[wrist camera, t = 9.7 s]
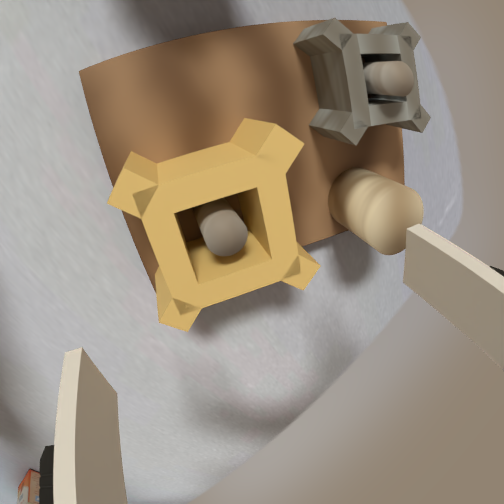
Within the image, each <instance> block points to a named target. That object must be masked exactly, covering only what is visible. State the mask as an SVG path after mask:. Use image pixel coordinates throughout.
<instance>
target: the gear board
mask: <svg viewBox="0 0 504 504" xmlns="http://www.w3.org/2000/svg"><path fill="white" fill-rule="evenodd" d="M420 38H421V37H420V36H419V35H418V33H417V32H416V31H415V30H414V29H413V28H412V26H411V25H410V24H409V23H408V22H406V23H399V24H393V25H387V23H386V22H377V21H357V20H337V19H336V18H333V19H330V20H312V21H292V22H279V23H268V24H259V25H251V26H243V27H236V28H230V29H224V30H218V31H213V32H207V33H202V34H197V35H193V36H188V37H184V38H180V39H175V40H171V41H168V42H164V43H160V44H156V45H153V46H149V47H146V48H142V49H139V50H136V51H133V52H130V53H126V54H123V55H120V56H117V57H115V58H112V59H109V60H106V61H103V62H101V63H98V64H95V65H93V66H90V67H88V68H85V69H83V70H80V71H79V74H80V78H81V82H82V86H83V90H84V94H85V98H86V101H87V105H88V109H89V112H90V116H91V119H92V123H93V126H94V130H95V133H96V136H97V139H98V143H99V146H100V149H101V152H102V155H103V158H104V161H105V164H106V167H107V170H108V173H109V176H110V179H111V182H112V185H113V188H114V185H115V183H116V181H117V179H118V176H119V174H120V172H121V170H122V168H123V166H124V164H125V162H126V160H127V158H128V156H129V154H130V152H131V151H132V152H134V153H136V154H138V155H140V156H142V157H144V158H146V159H148V160H150V161H152V162H154V163H156V164H158V163H161V162H164V161H167V160H170V159H173V158H176V157H179V156H183V155H186V154H189V153H192V152H196V151H199V150H203V149H206V148H210V147H213V146H217V145H220V144H224V143H228V142H230V140H231V139H232V137H233V135H234V134H235V132H236V131H237V129H238V127H239V126H240V124H241V123H242V121H243V120H244V118H247V119H253V120H258V121H264V122H269V123H274V124H277V125H278V126H280V127H281V128H283V129H284V130H286V131H287V132H289V133H290V134H292V135H293V136H294V137H296V138H297V139H299V140H300V141H301V142H303V143H304V146H303V147H302V149H301V150H300V152H299V154H298V155H297V157H296V158H295V160H294V161H293V163H292V165H291V166H290V168H289V169H288V171H287V172H286V174H285V175H286V180H287V186H288V192H289V198H290V204H291V210H292V216H293V222H294V229H295V235H296V242H297V243H298V244H299V245H300V246H301V247H302V246H305V245H308V244H311V243H314V242H317V241H319V240H322V239H325V238H328V237H331V236H334V235H336V234H339V233H342V232H345V231H348V230H350V231H351V232H353V233H354V234H355V235H357V236H358V237H359V238H361V239H362V240H364V241H365V242H366V243H368V244H369V245H370V246H372V247H373V248H374V249H376V250H377V251H378V252H380V253H382V254H384V255H394V254H397V253H399V252H401V251H403V250H404V249H405V248H406V231H407V228H410V227H412V226H414V225H417V224H422V220H423V203H422V200H421V198H420V196H419V194H418V193H417V192H416V191H415V190H413V189H411V188H409V187H407V186H405V185H404V156H403V139H402V128H404V129H408V130H412V131H417V132H421V133H422V132H423V131H424V129H425V127H426V125H427V123H428V121H429V120H430V118H431V117H430V116H429V114H428V113H427V112H426V111H425V109H424V108H423V107H422V106H421V104H420V98H419V89H418V80H417V72H416V65H415V59H414V52H413V50H414V48H415V47H416V45H417V43H418V41H419V40H420ZM122 212H123V215H124V218H125V220H126V223H127V225H128V228H129V231H130V233H131V236H132V238H133V241H134V243H135V246H136V248H137V250H138V253H139V255H140V258H141V260H142V262H143V265H144V267H145V269H146V272H147V274H148V276H149V279H150V281H151V283H152V285H153V288H154V290H155V292H156V283H155V273H156V271H157V269H158V267H159V264H158V261H157V259H156V256H155V254H154V251H153V249H152V246H151V243H150V241H149V238H148V236H147V233H146V230H145V228H144V225H143V222H142V219H140V218H138V217H136V216H134V215H132V214H129V213H127V212H125V211H123V210H122ZM176 213H177V216H178V219H179V222H180V225H181V228H182V231H183V234H184V237H185V240H186V242H189V241H192V240H195V239H198V238H201V237H203V238H204V240H205V242H206V245H207V247H208V249H209V250H210V251H211V252H212V253H214V254H216V255H218V256H230V255H233V254H235V253H237V252H239V251H240V250H241V249H242V248H243V247H244V245H245V243H246V241H247V237H248V231H247V228H246V225H245V224H244V220H243V215H242V211H241V207H240V203H239V198H238V194H237V193H236V194H233V195H230V196H226V197H223V198H220V199H217V200H214V201H210V202H207V203H204V204H201V205H198V206H195V207H192V208H189V209H185V210H182V211H179V212H176Z"/></svg>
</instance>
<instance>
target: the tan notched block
mask: <svg viewBox="0 0 504 504" xmlns="http://www.w3.org/2000/svg"><path fill="white" fill-rule="evenodd" d="M303 146H304V143H303V142H301V141H300V140H299V139H297V138H296V137H294V136H293V135H292V134H290V133H289V132H287V131H286V130H284V129H283V128H281V127H280V126H278V125H277V124H274V123H269V122H264V121H258V120H253V119H247V118H244V120H243V121H242V123H241V124H240V126H239V127H238V129H237V131H236V132H235V134H234V135H233V137H232V139H231V140H230V142H228V143H224V144H220V145H217V146H213V147H210V148H206V149H203V150H199V151H196V152H192V153H189V154H186V155H183V156H179V157H176V158H173V159H170V160H167V161H164V162H161V163H158V164H156V163H154V162H152V161H150V160H148V159H146V158H144V157H142V156H140V155H138V154H136V153H134V152H132V151H131V152H130V154H129V156H128V158H127V160H126V162H125V164H124V166H123V168H122V170H121V172H120V174H119V176H118V179H117V181H116V183H115V185H114V188H113V190H112V192H111V195H110V197H109V200H108V202H107V204H110V205H112V206H114V207H116V208H118V209H121V210H123V211H125V212H127V213H129V214H132V215H134V216H136V217H138V218H140V219H142V222H143V225H144V228H145V230H146V233H147V236H148V238H149V241H150V243H151V246H152V249H153V251H154V254H155V256H156V259H157V261H158V264H159V267H158V269H157V271H156V273H155V283H156V295H157V306H158V317H159V323H162V324H165V325H168V326H171V327H174V328H177V329H180V330H183V331H187V332H188V330H189V329H190V327H191V326H192V324H193V322H194V321H195V319H196V317H197V316H198V314H199V312H200V311H201V309H202V308H204V307H207V306H210V305H213V304H216V303H219V302H222V301H225V300H228V299H231V298H233V297H236V296H239V295H242V294H245V293H248V292H250V291H253V290H256V289H259V288H262V287H265V286H267V285H270V284H273V283H276V282H278V281H283V282H285V283H287V284H290V285H292V286H294V287H297V288H299V289H301V290H304V289H305V288H306V286H307V285H308V283H309V282H310V281H311V279H312V278H313V276H314V275H315V273H316V272H317V270H318V269H319V268H320V265H319V264H318V263H317V262H316V261H315V260H314V259H313V258H312V257H311V256H310V255H309V254H308V253H307V252H306V251H305V250H304V249H303V248H302V247H301V246H300V245H299V244H298V243H297V242H296V235H295V229H294V222H293V216H292V210H291V204H290V198H289V192H288V186H287V180H286V175H285V174H286V172H287V171H288V169H289V168H290V166H291V165H292V163H293V161H294V160H295V158H296V157H297V155H298V154H299V152H300V150H301V149H302V147H303ZM236 193H237V194H238V198H239V203H240V207H241V211H242V215H243V220H244V224H245V225H246V228H247V231H248V237H247V241H246V243H245V245H244V247H243V248H242V249H241V250H240V251H239V252H237V253H235V254H233V255H230V256H218V255H216V254H214V253H212V252H211V251H210V250H209V249H208V247H207V245H206V242H205V240H204V238H203V237H201V238H198V239H195V240H192V241H189V242H186V240H185V237H184V234H183V231H182V228H181V225H180V222H179V219H178V216H177V213H176V212H179V211H182V210H185V209H189V208H192V207H195V206H198V205H201V204H204V203H207V202H210V201H214V200H217V199H220V198H223V197H226V196H230V195H233V194H236Z"/></svg>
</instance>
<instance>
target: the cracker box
mask: <svg viewBox="0 0 504 504" xmlns="http://www.w3.org/2000/svg"><path fill="white" fill-rule="evenodd" d="M39 477H41V476H40V473H38V472H36V471H33V470H30V469H29V471H28V472H27V474H26V476H25V477H24V479H23V481H22V482H21V484H20V485H19V487H18V501H17V504H39V489H40V486H39Z"/></svg>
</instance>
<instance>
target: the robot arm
mask: <svg viewBox="0 0 504 504" xmlns="http://www.w3.org/2000/svg"><path fill="white" fill-rule="evenodd" d="M403 283H404V284H406V285H407V286H408V287H409V288H411V289H412V290H413V291H414V292H415V293H417V294H418V295H419V296H420V297H421V298H423V299H424V300H425V301H426V302H427V303H429V304H430V305H431V306H432V307H433V308H434V309H436V310H437V311H438V312H439V313H440V314H442V315H443V316H444V317H445V318H446V319H447V320H449V321H450V322H451V323H452V324H453V325H454V326H455V327H457V328H458V329H459V330H460V331H461V332H462V333H463V334H464V335H466V336H467V337H468V338H469V339H470V340H471V341H472V342H473V343H474V344H476V345H477V346H478V347H479V348H480V349H481V350H482V351H483V352H484V353H485V354H486V355H488V357H490V358H491V359H492V360H493V361H494V362H495V363H496V364H497V365H498V366H499V367H500V368H501V369H502V370H503V371H504V271H502V270H500V269H497V268H494V267H492V266H487V265H486V264H484V263H483V262H481V261H480V260H478V259H477V258H475V257H474V256H472V255H470V254H469V253H467V252H466V251H464V250H463V249H461V248H459V247H458V246H456V245H455V244H453V243H451V242H450V241H448V240H446V239H445V238H443V237H441V236H440V235H438V234H436V233H435V232H433V231H431V230H430V229H428V228H426V227H424V226H423V225H421V224H417V225H414V226H412V227H410V228H407V231H406V250H405V265H404V277H403ZM40 476H41V477H39V486H40V489H39V504H128V503H127V497H126V490H125V483H124V475H123V467H122V458H121V447H120V435H119V421H118V402H117V393H116V391H115V390H114V389H113V388H112V386H111V385H110V384H109V383H108V381H107V380H106V379H105V378H104V376H103V375H102V374H101V372H100V371H99V370H98V368H97V367H96V366H95V364H94V363H93V362H92V360H91V359H90V358H89V356H88V355H87V354H86V352H85V351H84V349H83V348H82V347H81V348H78V349H75V350H72V351H68V352H65V356H64V362H63V368H62V374H61V381H60V389H59V397H58V406H57V415H56V427H55V441H54V445H51V446H45V449H44V451H43V454H42V457H41V459H40Z"/></svg>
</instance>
